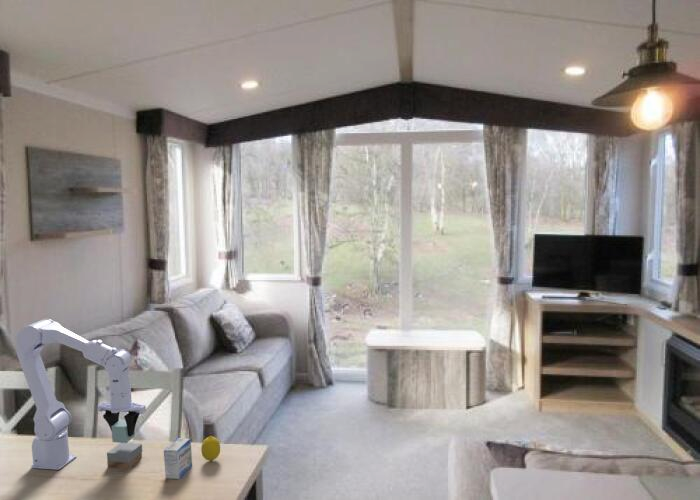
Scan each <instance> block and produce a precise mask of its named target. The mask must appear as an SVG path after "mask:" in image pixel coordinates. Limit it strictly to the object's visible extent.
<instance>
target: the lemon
mask: <svg viewBox="0 0 700 500" xmlns="http://www.w3.org/2000/svg"><path fill="white" fill-rule="evenodd" d="M200 448H201V454H202V458H204V459H205V460H206V461H210V462H213V461H215V460H217V458H218V457H219V455H220V453H221V444H220V441H219V440H218V438H216V437H215V436H212V435H210V436H208V437H206V438H205V439H204V440H203V441H202V444H201V447H200Z"/></svg>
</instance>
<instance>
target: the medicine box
mask: <svg viewBox="0 0 700 500" xmlns="http://www.w3.org/2000/svg"><path fill="white" fill-rule="evenodd" d="M192 454H193V453H192V440H191V439H190V438H185V437H178V438H176V439H175V440H174V441H173V442H172V443H171V444H169V445H168V446H167V447H166V448H165V449H164V450H163V460H164V473H165V475H164V477H165V479H173V480H180V479H181V478H182V477H183V476H184V474H185V473H186V472H188V470H189V469H191V467H192V466H193V456H192Z"/></svg>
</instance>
